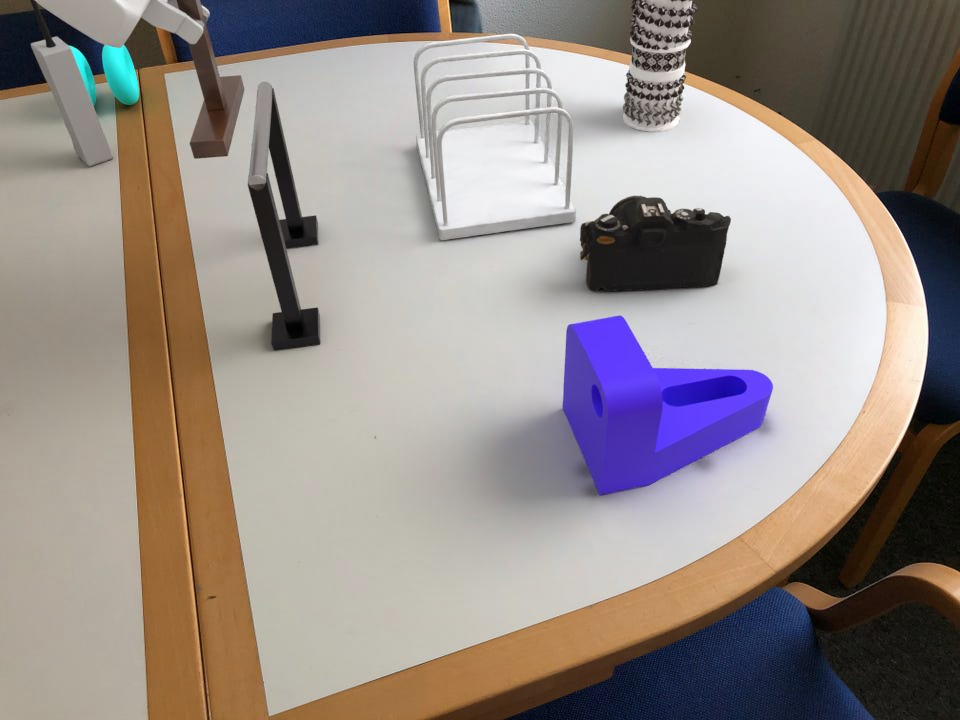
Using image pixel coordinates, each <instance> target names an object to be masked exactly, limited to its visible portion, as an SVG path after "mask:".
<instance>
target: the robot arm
mask: <svg viewBox="0 0 960 720" xmlns="http://www.w3.org/2000/svg"><path fill="white" fill-rule="evenodd" d="M35 1H36V3H37V5H38V4H39V6H41V7H42V8H43V9H45V10H46V11H48V12H49V13H51V14H52V15H54V16H56V17H57V18H58V19H60V20H61V21H63V22H64V23H66V24H68V25H69V26H71V27H72V28H74V29H76V30H77V31H79V32H80V33H82V34H84V35H85V36H87V37H89V38H90V39H92V40H94V41H95V42H97V43H100V44H101V45H108V46H112V47H116V48H121V47H122V46H123V45H125V43H127V41H128V39H129V38H130V36H131V35H132V33H133V31H134V29H135V28H136V26H137V24H138V23H139V21H140V20H141V19H142V20H144V21H145V22H147V23H148V24H150V25H151V26H153V27H155V28H159V29H161V30H163V31H167V32H170V33H172V34H176V35H177V36H179V37H180V38H181V39H183V40H184V41H186V42H187V43H188V44H189V43H190V44H196V43H197V41H198V40H199V38H200V37H201V35H202V34H203V31H204V28H205V25H204V23H203V22H202V21H201V20H199V19H197V18H196V17H195V16H194V15H193V14H191V13H190V12H189V11H188V13H187V14H186V13H184V12H182V11H180V10H179V7H178V4H177V0H35ZM201 6H202V10H203V14H204V18H205V21H206V23H207V22H208V21H209V18H210V16H211V14H210V11H209V9H208V8H207V7H205V6H203V4H201Z"/></svg>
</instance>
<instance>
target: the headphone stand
mask: <svg viewBox="0 0 960 720" xmlns="http://www.w3.org/2000/svg"><path fill="white" fill-rule="evenodd" d="M177 4H178V7H179V10H180V11H182V12H184V13H186V14H187V13H188V11H189V12H190V13H191V14H193V15H194V16H195V17H196V18H197V19H199V20H201V21H202V22H203V23H204V25H205V28H204V31H203V34H202V35H201V37H200V38H199V40H198V41H197V43H196V44H190V43H188V46H189V51H190V54H191V57H192V62H193V65H194V68H195V71H196V75H197V80H198V82H199V86H200V89H201V94H202V96H203V101H202V105H201V108H200V110H199V114H198V117H197V119H196V123H195V125H194V128H193V132H192V135H191V137H190V140H189V146H190V150H191V153H192V156H193V159H194V160H195V159H196V160H198V159H209V158H222V157H223V158H224V157H229V154H230V149H231V145H232V142H233V137H234V134H235V133H234V132H235V129H236V125H237V121H238V117H239V113H240V109H241V105H242V101H243V97H244V93H245V85H244V82H243V78H242V75H241V74H239V75H225V76H221V74H220V72H219V68H218V64H217V60H216V56H215V53H214V48H213V44H212V41H211V38H210V34H209V30H208V25H207V22H206V21H205V18H204V14H203V10H202V6H203V5H202V3H201V0H177ZM201 5H202V6H201Z"/></svg>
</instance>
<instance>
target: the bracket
mask: <svg viewBox="0 0 960 720" xmlns="http://www.w3.org/2000/svg"><path fill="white" fill-rule="evenodd" d="M564 351H565V353H564V371H563V372H564V373H563V389H562V390H563V394H562V411H563V412H564V415H565V417H566V419H567V421H568V424H569V426H570V429H571V431H572V433H573V436H574V439H575V441H576V443H577V445H578V447H579V451H580V453H581V455H582V457H583V460H584V461H585V464H586V466H587V469H588V472H589V473H590V476H591V478H592V481H593V483H594V486H595V488H596V491H597V492H598V495H599V496H603V495H608V494H613V493H618V492H622V491H627V490H632V489H636V488H642V487H646V486H650V485H652V484H654V483H656V482H658V481H660V480H662V479H664V478H665V477H667V476H670V475H672V474H674V473H675V472H677V471H679V470H680V469H683V468H684V467H686V466H689V465H690V464H692V463H694V462H696V461H698V460H700V459H702V458H704V457H706V456H708V455H709V454H711V453H713V452H716V451H717V450H719V449H721V448H723V447H726V446H727V445H729V444H730V443H732V442H735V441H736V440H738V439H740V438H742V437H744V436H746V435H748V434H750V433H751V432H754V431H755V430H758V429H759V428H760V427H761V426H762V425H763V423H764V420H765V417H766V413H767V411H768V407H769V403H770V400H771V397H772V393H773V390H774V385H773V382H772V380H771V378H769V376H768V375H766V374H764V373H762V372H761V371H758V370H754V369H736V368H735V369H732V368H729V369H728V368H727V369H725V368H682V367H681V368H678V367H677V368H676V367H673V368H672V367H653V366H652V364H651V361H649V359H648V356H647V355H646V353H645V352H644V350H643V348H642V346H641V345H640V343H639V341H638V339H637V338H636V335H635V334H634V332H633V331H632V329H631V327H630V325H629V324H628V322H627V320H626V319H625V317H624V316H623V315H614V316H608V317H602V318H597V319H591V320H586V321H581V322H580V321H579V322H575V323H570V324H568V325H567V326H566V332H565V349H564Z"/></svg>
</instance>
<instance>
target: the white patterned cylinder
mask: <svg viewBox="0 0 960 720" xmlns="http://www.w3.org/2000/svg"><path fill="white" fill-rule="evenodd" d="M630 9H631V13H632V15H631V19H630V21H629V22H630V25H631V26H630V29H629V32H628V33H629V35H630V37H629V41H630V44H631V46H632V49H631V50H632V51H631V58H630V59H629V67H628V70H627V72H626V74H625V76H626V80H627V81H626V83H625V84H624V86H625V90H626V92H625V94H623V99H624V103H623V106H622V108H623V114H622V120H623V123H625V124H626V125H627V126H628V127H630V128H632V129H635V130H638V131H643V132H650V133H651V132H652V133H654V132H655V133H656V132H657V133H659V132H664V131H669V130H671V129H673V128H675V127H677V125H678V124H679V122H680V115H681V113H680V112H681V111H682V107H681V106H682V102H683V101H684V98H683V96H682V94H683V93H684V90H685V85H684V83H685V80H686V79H687V75H686V74H685V71H686V70H685V69H686V54H687V48H688V47H689V46H690V45H691V42H692V40H691V39H692V37H693V32H692V31H691V30H690V29H689V28H690V27H692V26H694V25H695V23H696V21H697V20H696V18H695V17H694V16H693V15H694V14H696V13H697V11H698V6H697V5H696V4H694V2H693V0H632V2H631V3H630Z"/></svg>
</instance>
